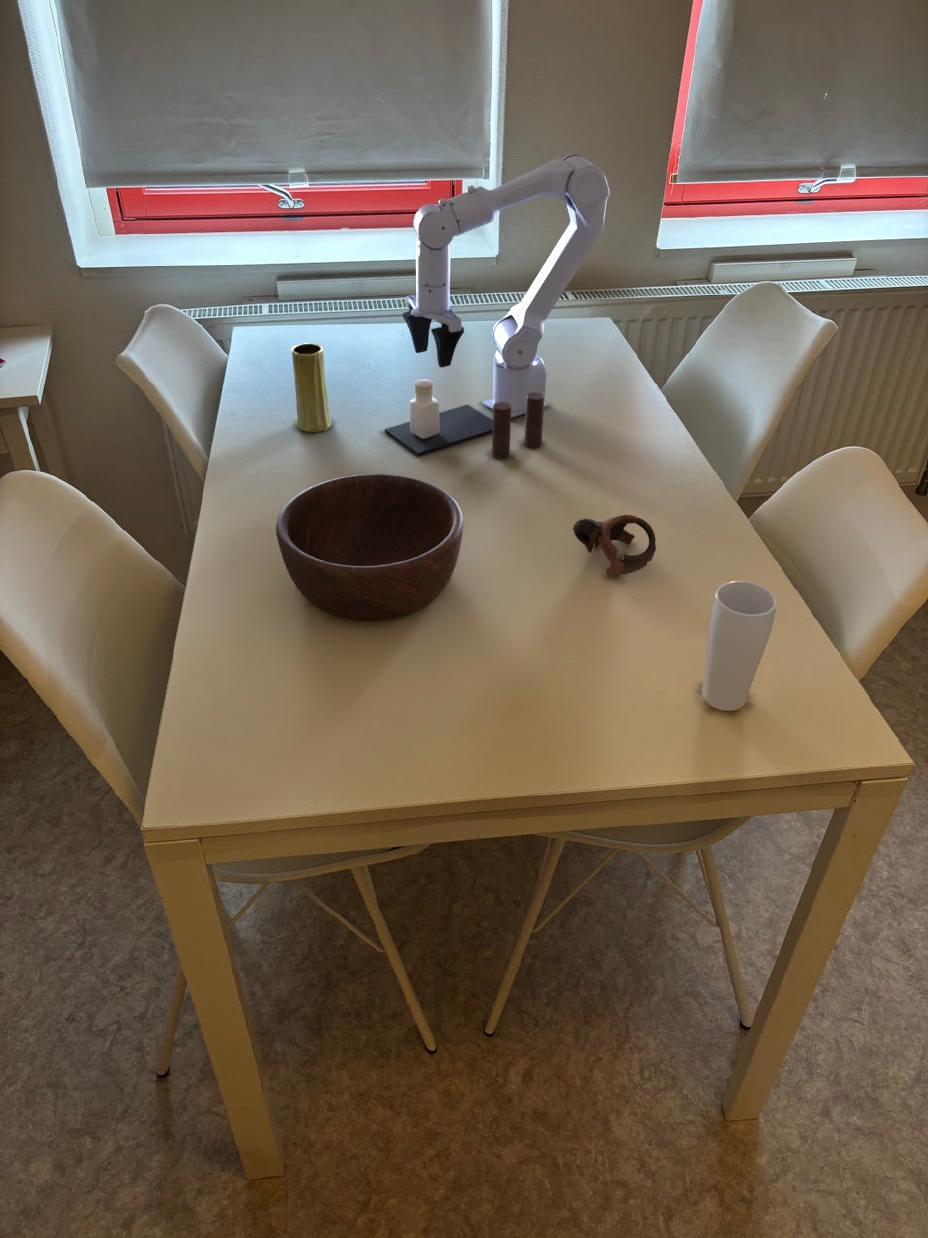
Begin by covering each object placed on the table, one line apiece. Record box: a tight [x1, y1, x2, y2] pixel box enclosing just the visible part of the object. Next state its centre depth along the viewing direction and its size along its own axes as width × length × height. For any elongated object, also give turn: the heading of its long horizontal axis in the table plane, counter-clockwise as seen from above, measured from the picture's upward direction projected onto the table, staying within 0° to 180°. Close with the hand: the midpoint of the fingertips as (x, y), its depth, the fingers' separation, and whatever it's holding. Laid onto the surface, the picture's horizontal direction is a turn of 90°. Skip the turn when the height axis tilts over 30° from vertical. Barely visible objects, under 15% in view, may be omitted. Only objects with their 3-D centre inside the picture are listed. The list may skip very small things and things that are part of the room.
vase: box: [291, 342, 332, 433], centre depth 169 cm, size 6×6×14 cm
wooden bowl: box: [275, 473, 464, 622], centre depth 131 cm, size 25×25×10 cm
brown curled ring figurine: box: [572, 514, 657, 579], centre depth 137 cm, size 12×10×8 cm
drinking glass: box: [701, 580, 778, 712], centre depth 111 cm, size 7×7×15 cm
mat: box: [384, 404, 493, 457], centre depth 171 cm, size 18×11×1 cm, turn 125°
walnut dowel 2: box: [523, 392, 545, 449], centre depth 165 cm, size 3×3×9 cm
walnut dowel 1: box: [491, 402, 512, 460], centre depth 162 cm, size 3×3×9 cm
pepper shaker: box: [409, 378, 440, 439], centre depth 166 cm, size 4×4×10 cm
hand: (432, 358), depth 171 cm, fingers open, 7 cm apart
